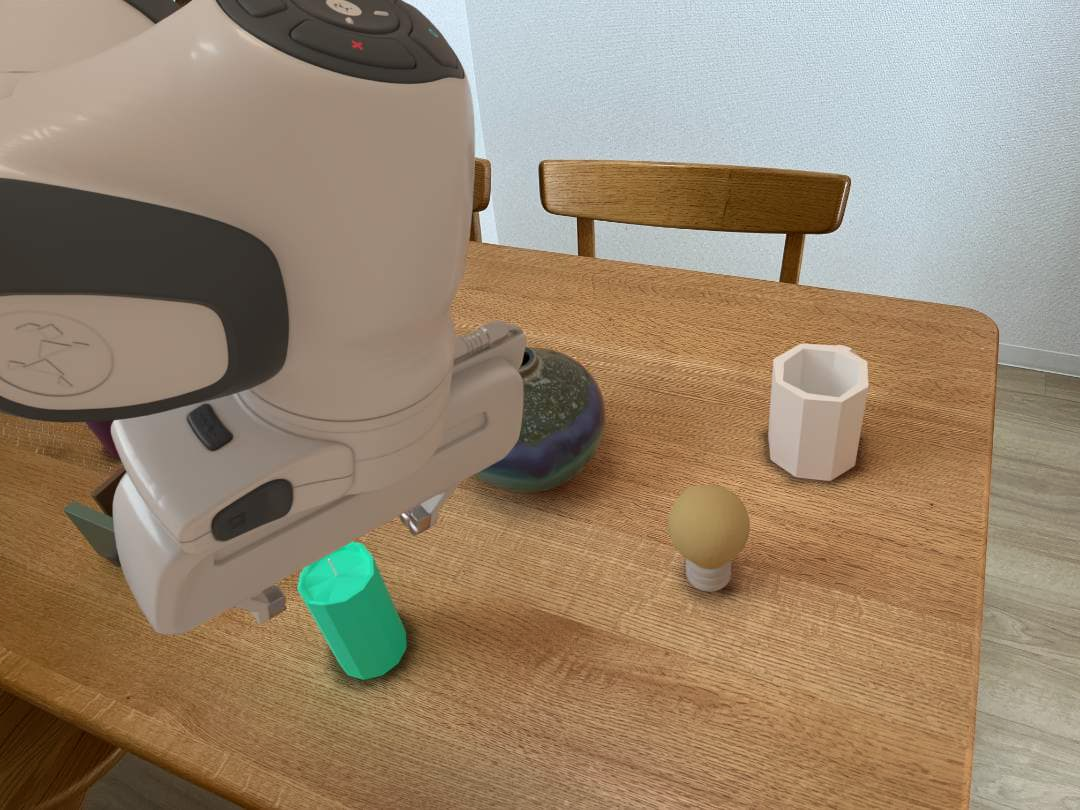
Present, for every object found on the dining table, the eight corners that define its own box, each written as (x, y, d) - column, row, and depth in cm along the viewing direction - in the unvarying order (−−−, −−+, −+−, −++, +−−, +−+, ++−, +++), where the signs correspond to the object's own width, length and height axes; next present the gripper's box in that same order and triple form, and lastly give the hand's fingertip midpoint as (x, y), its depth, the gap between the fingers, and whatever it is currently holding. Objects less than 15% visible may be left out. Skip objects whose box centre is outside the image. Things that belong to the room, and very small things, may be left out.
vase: (434, 500, 80) (401, 400, 71) (496, 400, 90) (474, 301, 81) (580, 532, 74) (564, 428, 66) (629, 421, 85) (620, 318, 76)
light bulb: (739, 616, 66) (743, 538, 59) (662, 599, 68) (657, 522, 61) (752, 555, 70) (757, 476, 63) (679, 541, 72) (677, 463, 66)
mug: (839, 493, 74) (852, 413, 67) (751, 461, 78) (754, 384, 72) (883, 414, 80) (899, 335, 74) (800, 388, 85) (807, 312, 78)
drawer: (175, 604, 73) (141, 558, 69) (88, 564, 79) (51, 518, 74) (288, 485, 83) (264, 437, 79) (203, 456, 88) (177, 410, 84)
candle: (372, 606, 71) (330, 517, 64) (422, 636, 68) (384, 547, 61) (323, 658, 68) (273, 572, 60) (373, 692, 65) (327, 606, 57)
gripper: (490, 274, 41) (462, 446, 51) (64, 438, 30) (134, 617, 40) (571, 348, 39) (525, 515, 48) (135, 558, 27) (192, 718, 37)
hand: (345, 562), depth 44 cm, fingers open, 8 cm apart
